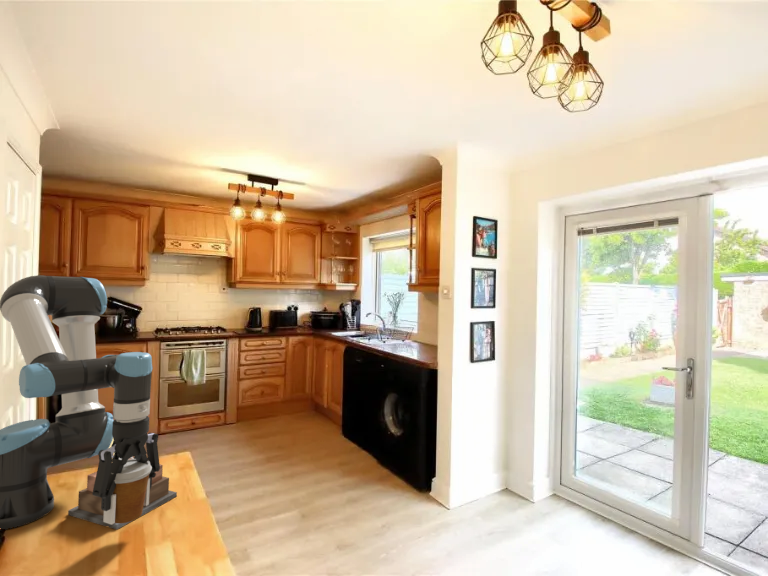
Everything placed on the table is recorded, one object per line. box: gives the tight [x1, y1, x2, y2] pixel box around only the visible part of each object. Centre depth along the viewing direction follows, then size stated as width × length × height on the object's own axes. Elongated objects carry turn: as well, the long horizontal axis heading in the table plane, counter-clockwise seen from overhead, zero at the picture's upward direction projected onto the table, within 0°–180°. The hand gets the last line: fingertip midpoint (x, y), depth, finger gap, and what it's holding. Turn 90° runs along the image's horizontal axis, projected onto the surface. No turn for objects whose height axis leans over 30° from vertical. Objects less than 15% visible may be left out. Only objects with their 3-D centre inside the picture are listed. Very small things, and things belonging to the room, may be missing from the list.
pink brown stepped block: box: [67, 457, 178, 530], centre depth 111 cm, size 18×18×10 cm
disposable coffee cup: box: [112, 459, 152, 523], centre depth 96 cm, size 10×10×12 cm
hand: (127, 512), depth 96 cm, fingers closed on disposable coffee cup, 8 cm apart
